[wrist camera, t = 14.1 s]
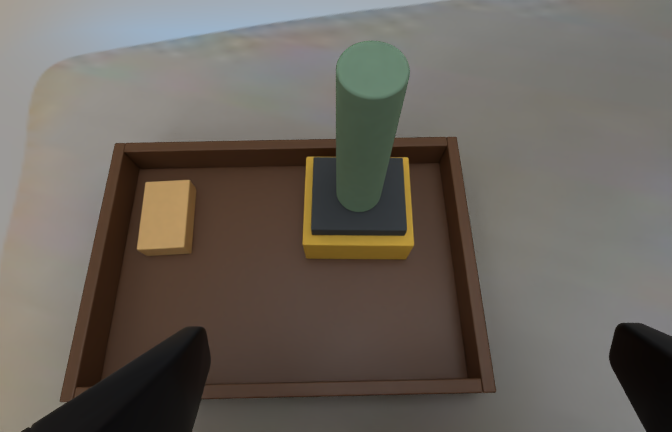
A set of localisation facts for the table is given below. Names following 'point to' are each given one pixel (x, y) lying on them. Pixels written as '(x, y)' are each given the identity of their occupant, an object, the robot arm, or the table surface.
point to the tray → (284, 280)
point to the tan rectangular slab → (167, 218)
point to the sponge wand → (362, 164)
